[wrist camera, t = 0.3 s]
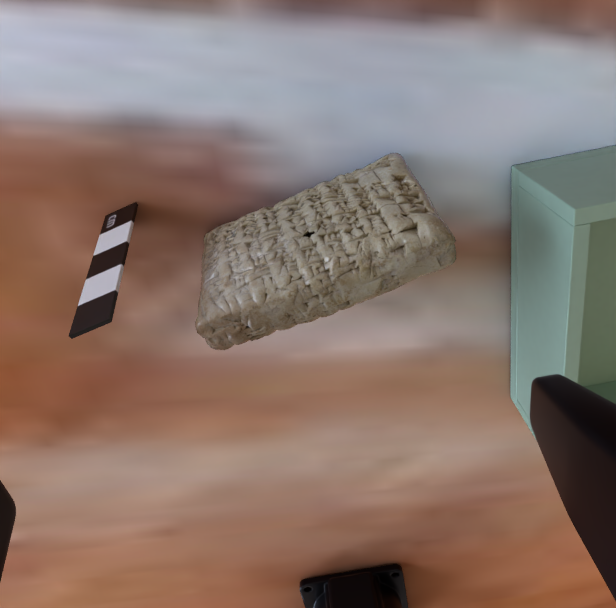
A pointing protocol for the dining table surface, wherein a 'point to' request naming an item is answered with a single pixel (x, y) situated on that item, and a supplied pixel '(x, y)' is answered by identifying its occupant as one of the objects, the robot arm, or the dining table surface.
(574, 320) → the bin
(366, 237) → the cuneiform tablet
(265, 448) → the dining table surface
